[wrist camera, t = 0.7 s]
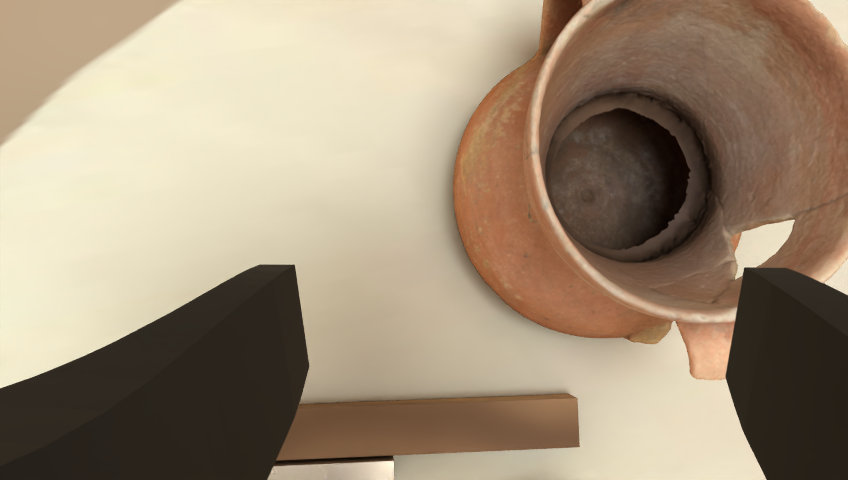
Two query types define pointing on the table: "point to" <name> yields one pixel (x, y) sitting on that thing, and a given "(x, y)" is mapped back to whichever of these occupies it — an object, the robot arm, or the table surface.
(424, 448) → the brown wooden stick
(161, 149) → the table surface
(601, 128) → the ceramic jug
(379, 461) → the tray
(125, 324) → the table surface
